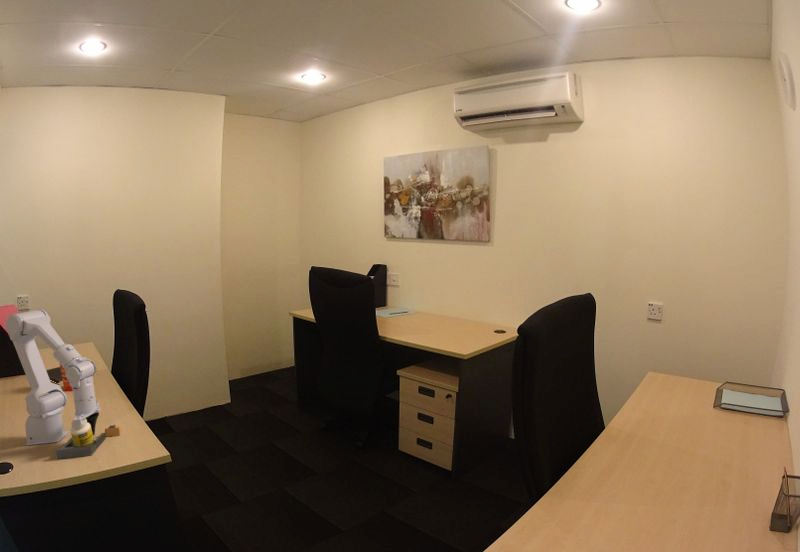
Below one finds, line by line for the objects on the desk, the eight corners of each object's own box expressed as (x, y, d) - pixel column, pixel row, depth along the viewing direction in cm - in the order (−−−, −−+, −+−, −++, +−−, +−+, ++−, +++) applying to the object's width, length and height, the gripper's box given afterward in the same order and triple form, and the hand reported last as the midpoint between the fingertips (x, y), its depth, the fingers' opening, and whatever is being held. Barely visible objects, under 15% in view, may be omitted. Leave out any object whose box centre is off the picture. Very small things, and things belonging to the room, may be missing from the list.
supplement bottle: (81, 453, 143) (75, 429, 140) (71, 447, 145) (64, 423, 142) (98, 442, 148) (92, 418, 144) (87, 436, 150) (81, 413, 146)
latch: (105, 436, 153) (104, 427, 152) (106, 435, 154) (105, 425, 154) (119, 435, 154) (118, 425, 154) (120, 433, 155) (120, 424, 155)
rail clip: (56, 459, 138) (56, 450, 138) (77, 437, 152) (76, 429, 152) (91, 455, 141) (90, 446, 140) (109, 434, 154) (108, 426, 154)
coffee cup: (56, 390, 195) (53, 357, 194) (76, 384, 203) (73, 352, 201) (69, 393, 192) (65, 359, 190) (88, 386, 200) (85, 354, 198)
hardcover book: (73, 367, 228) (73, 363, 228) (97, 375, 216) (96, 370, 216) (35, 377, 214) (35, 372, 214) (58, 385, 203) (58, 381, 202)
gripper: (89, 404, 141) (94, 444, 143) (106, 387, 155) (111, 424, 157) (63, 407, 139) (69, 448, 141) (83, 390, 153) (88, 428, 155)
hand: (90, 436), depth 149 cm, fingers closed, pressing on supplement bottle
